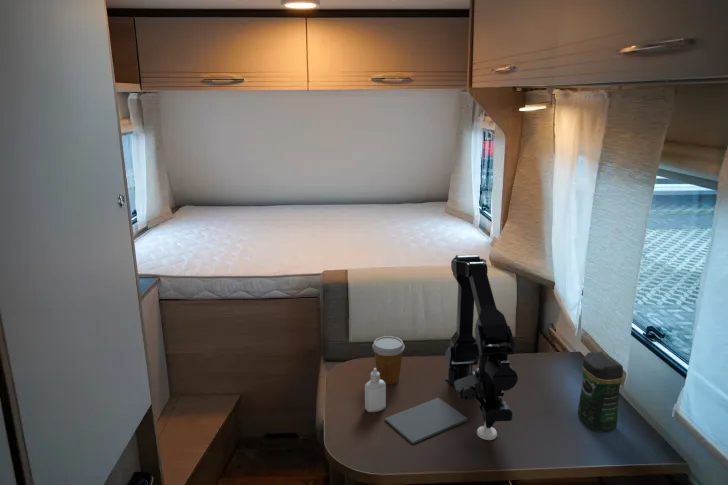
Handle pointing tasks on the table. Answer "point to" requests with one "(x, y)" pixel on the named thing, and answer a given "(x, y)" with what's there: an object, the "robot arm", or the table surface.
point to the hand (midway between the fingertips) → (487, 425)
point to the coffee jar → (600, 392)
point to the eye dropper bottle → (375, 393)
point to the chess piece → (486, 433)
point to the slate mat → (425, 420)
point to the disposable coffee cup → (388, 358)
